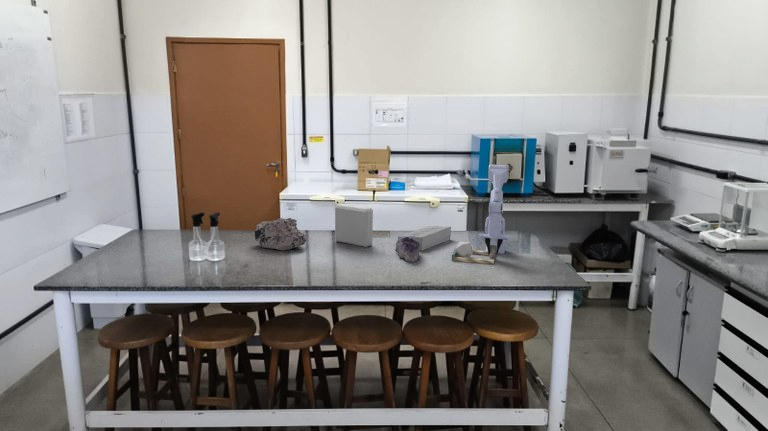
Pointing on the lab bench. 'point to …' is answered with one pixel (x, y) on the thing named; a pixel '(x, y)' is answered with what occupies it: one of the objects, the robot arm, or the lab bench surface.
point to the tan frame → (474, 260)
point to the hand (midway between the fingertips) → (493, 253)
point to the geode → (408, 249)
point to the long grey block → (429, 236)
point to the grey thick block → (353, 225)
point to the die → (464, 249)
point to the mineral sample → (279, 234)
